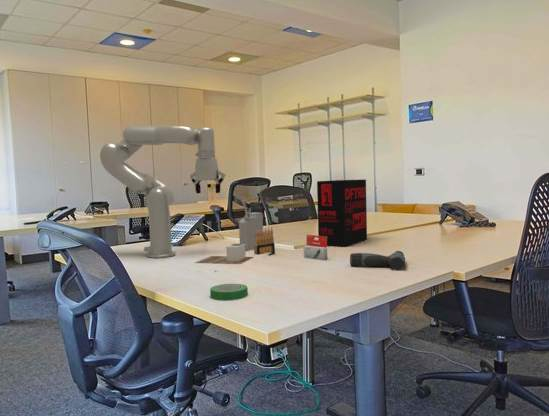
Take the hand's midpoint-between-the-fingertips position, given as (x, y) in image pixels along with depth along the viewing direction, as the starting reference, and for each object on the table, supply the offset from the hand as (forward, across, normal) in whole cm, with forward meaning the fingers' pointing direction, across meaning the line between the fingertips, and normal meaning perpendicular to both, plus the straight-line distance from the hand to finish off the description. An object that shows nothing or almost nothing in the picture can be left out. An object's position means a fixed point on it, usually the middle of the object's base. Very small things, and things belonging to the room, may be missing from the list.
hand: (208, 193), depth 207 cm
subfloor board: (+28, +15, -18) cm, 37 cm away
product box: (+28, +55, +42) cm, 75 cm away
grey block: (+27, +20, -18) cm, 38 cm away
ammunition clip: (+29, +26, +1) cm, 39 cm away
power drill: (+29, +76, -13) cm, 83 cm away
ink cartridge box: (+29, +50, -4) cm, 58 cm away
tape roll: (+29, +37, -66) cm, 81 cm away
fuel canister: (+28, +13, +18) cm, 36 cm away
